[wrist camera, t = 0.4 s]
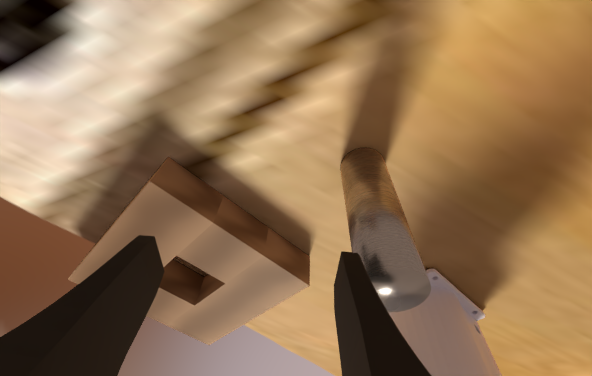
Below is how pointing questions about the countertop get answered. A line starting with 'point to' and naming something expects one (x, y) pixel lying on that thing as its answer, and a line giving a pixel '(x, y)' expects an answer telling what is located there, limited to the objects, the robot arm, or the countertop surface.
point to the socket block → (203, 255)
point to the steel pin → (382, 232)
